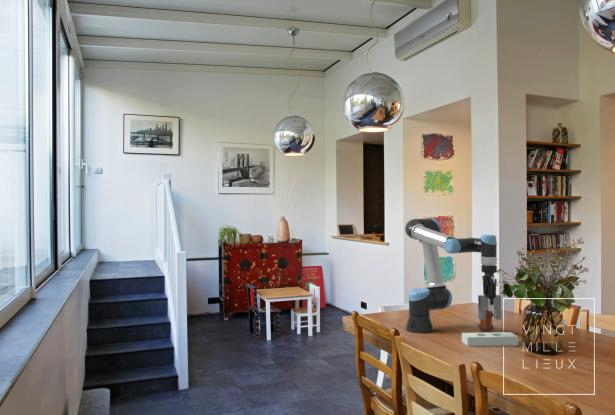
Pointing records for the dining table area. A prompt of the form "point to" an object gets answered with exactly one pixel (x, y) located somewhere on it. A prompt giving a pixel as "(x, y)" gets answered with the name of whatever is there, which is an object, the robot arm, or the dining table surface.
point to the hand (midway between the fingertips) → (489, 310)
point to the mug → (486, 323)
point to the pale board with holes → (490, 339)
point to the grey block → (484, 304)
